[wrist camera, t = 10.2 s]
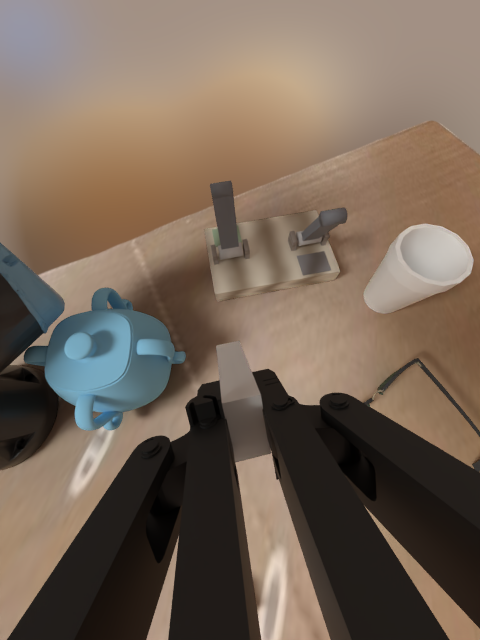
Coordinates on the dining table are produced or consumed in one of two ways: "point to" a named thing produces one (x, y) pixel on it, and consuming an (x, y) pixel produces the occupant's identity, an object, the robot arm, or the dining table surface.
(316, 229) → the lever
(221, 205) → the lever
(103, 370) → the decorative pot
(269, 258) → the switch base
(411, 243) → the foam cup
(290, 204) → the dining table surface
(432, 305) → the dining table surface
